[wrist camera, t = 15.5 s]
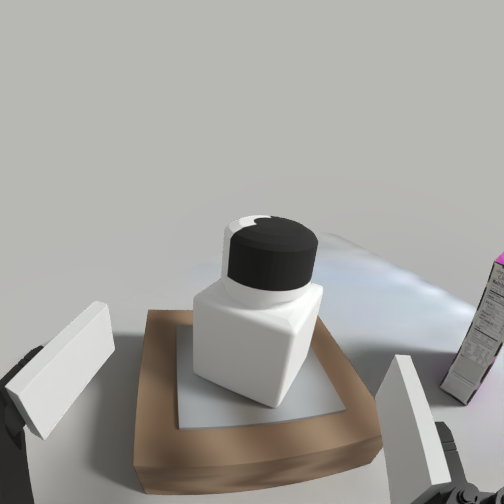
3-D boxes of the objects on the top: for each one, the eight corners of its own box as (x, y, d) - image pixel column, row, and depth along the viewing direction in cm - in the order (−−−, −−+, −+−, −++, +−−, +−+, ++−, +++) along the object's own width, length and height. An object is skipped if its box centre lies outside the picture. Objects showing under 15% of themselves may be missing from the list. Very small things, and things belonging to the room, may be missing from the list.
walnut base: (304, 342, 36) (313, 305, 34) (370, 463, 20) (396, 427, 18) (151, 346, 32) (148, 307, 30) (146, 494, 16) (132, 463, 14)
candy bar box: (464, 352, 34) (507, 245, 28) (489, 367, 31) (537, 259, 25) (435, 387, 28) (493, 257, 22) (466, 408, 24) (534, 277, 19)
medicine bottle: (307, 356, 26) (337, 224, 21) (276, 411, 20) (312, 253, 15) (235, 331, 28) (248, 203, 24) (191, 374, 22) (193, 222, 18)
